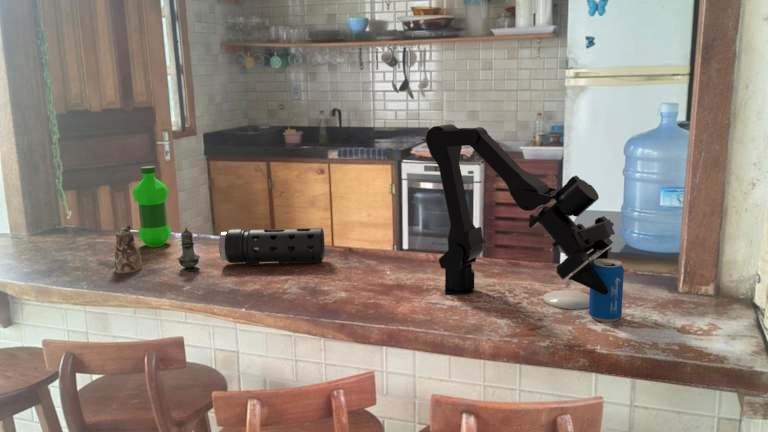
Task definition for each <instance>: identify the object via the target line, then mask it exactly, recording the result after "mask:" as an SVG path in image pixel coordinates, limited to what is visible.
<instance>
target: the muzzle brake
mask: <svg viewBox="0 0 768 432" xmlns="http://www.w3.org/2000/svg"><path fill="white" fill-rule="evenodd" d="M325 246H326V245H325V232H324V228H323V227H311V228H276V229H275V228H272V229H265V228H263V229H262V228H260V229H250V230H248V231H247V229H244V228H229V229H228V230H227V231H222V232H221V233H220V236H219V241H218V251H219V256H220V257H219V258H220V259H221V261H223V262H228V263H230V264H243V263H245V266H258V265H259V264H260V263H278V264H280V265H282V264H291V265H292V264H321V263H322V262H323V261H324V258H325Z"/></svg>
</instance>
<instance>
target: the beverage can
mask: <svg viewBox="0 0 768 432" xmlns="http://www.w3.org/2000/svg"><path fill="white" fill-rule="evenodd" d="M622 264H623V263H622V261H620V260H618V259H617V260H616V259H613V258H612V259H611V258H610V259H596V260H594V270H595V271H596V273H597V274H598V276H599V277H600V279H601V280H602V282H603V283H604V285H605V286H606V288H607V289H608V291H609V292H608V293H607V294H606V295H603V294H601V293H599V292H597V291H595V290H593V289H591V288H589V295H590V297H589V307H588V314H589V316H591V318H592V319H594V320H595V321H597V322H602V323H613V322H616V321H617V320H618V319H620V318H622V316H623V315H622V314H623V293H624V274H625V272H624V270H625V269H624V266H622Z"/></svg>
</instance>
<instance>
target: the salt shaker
mask: <svg viewBox="0 0 768 432" xmlns="http://www.w3.org/2000/svg"><path fill="white" fill-rule="evenodd" d="M180 237H181V243H180V246H181V249H182V252H181V256H179V257H178V258H177V261H178V263H179V265H180V266H181V267H182V268H181V269H179V272H180V273H181V274H191V273H197V272H199V271H200V270H201V269H200V267H199V266H197V265H198V264H199V261H200V255H198V254H196V253H195V250H194V245H195V243H194V242H193V233H192V232H191V231H190V230H188V228H187V227H185V229H184V231H182V232H181V235H180Z"/></svg>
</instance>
